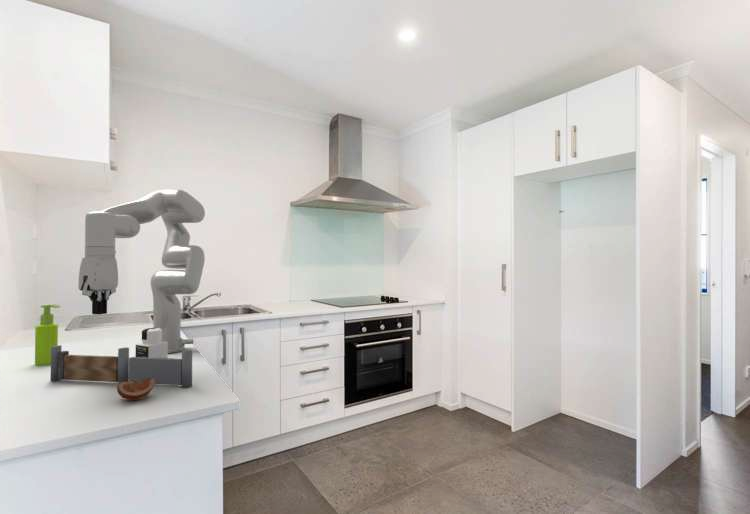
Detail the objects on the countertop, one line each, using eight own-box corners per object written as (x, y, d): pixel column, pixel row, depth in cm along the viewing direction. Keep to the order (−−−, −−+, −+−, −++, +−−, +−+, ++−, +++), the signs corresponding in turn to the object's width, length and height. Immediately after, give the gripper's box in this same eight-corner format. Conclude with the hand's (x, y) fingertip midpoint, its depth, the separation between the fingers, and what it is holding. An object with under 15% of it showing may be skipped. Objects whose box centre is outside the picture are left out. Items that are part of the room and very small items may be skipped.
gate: (120, 380, 112) (120, 352, 112) (115, 382, 110) (115, 354, 110) (63, 378, 114) (63, 350, 114) (57, 379, 112) (58, 352, 112)
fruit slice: (153, 392, 103) (153, 374, 103) (157, 400, 98) (157, 380, 98) (115, 399, 98) (116, 379, 98) (117, 407, 93) (118, 386, 93)
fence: (193, 385, 109) (194, 349, 109) (188, 388, 107) (188, 351, 107) (56, 378, 115) (56, 345, 115) (47, 381, 112) (48, 347, 112)
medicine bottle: (134, 364, 131) (135, 329, 131) (155, 360, 137) (155, 326, 138) (147, 367, 128) (148, 331, 128) (168, 362, 134) (168, 327, 134)
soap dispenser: (50, 365, 130) (51, 305, 130) (30, 365, 130) (30, 305, 130) (64, 361, 135) (65, 304, 136) (45, 361, 136) (46, 304, 136)
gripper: (109, 253, 125) (108, 310, 125) (66, 252, 110) (65, 317, 110) (130, 253, 124) (129, 311, 124) (89, 252, 109) (88, 317, 109)
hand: (99, 313), depth 117 cm, fingers closed
